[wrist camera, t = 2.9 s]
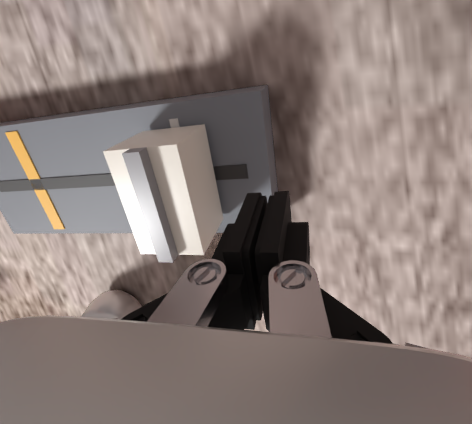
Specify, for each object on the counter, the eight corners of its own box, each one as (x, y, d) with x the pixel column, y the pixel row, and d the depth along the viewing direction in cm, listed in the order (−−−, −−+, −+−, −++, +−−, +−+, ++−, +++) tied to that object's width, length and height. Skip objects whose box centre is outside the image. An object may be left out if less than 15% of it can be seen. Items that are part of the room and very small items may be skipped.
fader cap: (204, 124, 19) (169, 149, 14) (223, 218, 22) (199, 263, 18) (143, 131, 20) (93, 155, 16) (169, 219, 23) (134, 261, 19)
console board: (267, 84, 20) (260, 90, 17) (280, 213, 25) (275, 233, 22) (-12, 124, 27) (-47, 133, 25) (38, 218, 32) (13, 233, 29)
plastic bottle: (109, 318, 38) (-58, 541, 21) (95, 278, 34) (-117, 503, 18) (155, 327, 36) (15, 573, 19) (146, 285, 33) (-33, 539, 16)
